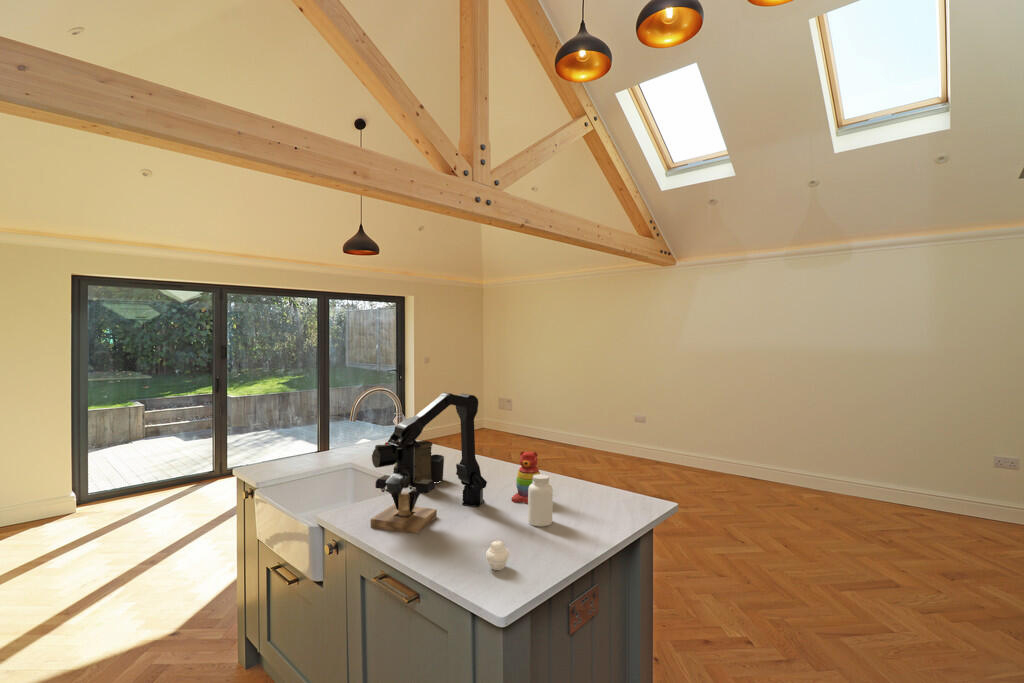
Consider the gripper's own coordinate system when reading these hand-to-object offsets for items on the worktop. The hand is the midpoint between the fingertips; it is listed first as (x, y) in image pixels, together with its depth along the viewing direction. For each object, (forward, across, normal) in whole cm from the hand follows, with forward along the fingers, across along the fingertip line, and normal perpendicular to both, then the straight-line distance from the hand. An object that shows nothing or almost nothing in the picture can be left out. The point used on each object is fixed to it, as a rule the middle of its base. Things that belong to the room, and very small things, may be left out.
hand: (404, 510), depth 149 cm
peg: (+4, 0, 0) cm, 4 cm away
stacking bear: (+4, +33, +33) cm, 47 cm away
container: (+4, -11, +33) cm, 35 cm away
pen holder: (+4, -11, +43) cm, 45 cm away
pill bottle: (+4, +42, +13) cm, 44 cm away
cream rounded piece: (+4, +38, -20) cm, 43 cm away
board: (+4, 0, 0) cm, 4 cm away
